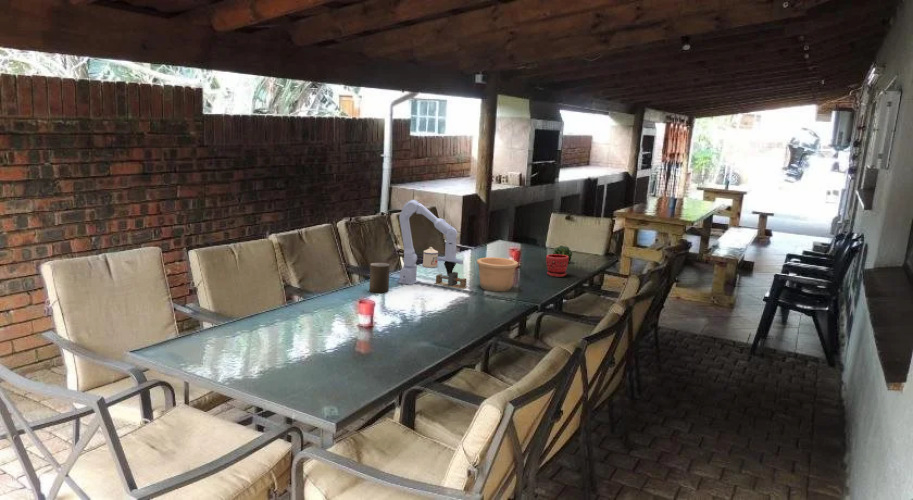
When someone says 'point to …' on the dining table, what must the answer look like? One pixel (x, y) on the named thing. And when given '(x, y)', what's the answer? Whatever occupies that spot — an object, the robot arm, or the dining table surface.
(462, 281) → the rail
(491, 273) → the pottery
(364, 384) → the dining table surface
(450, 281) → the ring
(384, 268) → the pillar candle
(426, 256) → the teacup with lid
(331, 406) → the dining table surface
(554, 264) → the plant pot
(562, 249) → the vegetable
